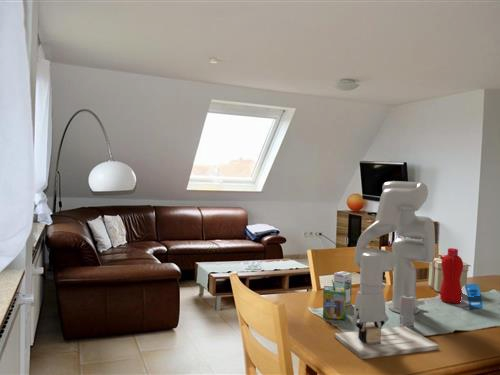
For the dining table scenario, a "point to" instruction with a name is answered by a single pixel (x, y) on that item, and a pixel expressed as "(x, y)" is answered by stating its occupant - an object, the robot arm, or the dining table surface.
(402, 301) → the energy drink
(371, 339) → the block
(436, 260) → the gift box
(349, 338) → the board
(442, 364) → the dining table surface
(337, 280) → the syrup box
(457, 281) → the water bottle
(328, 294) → the chalk box
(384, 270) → the robot arm
